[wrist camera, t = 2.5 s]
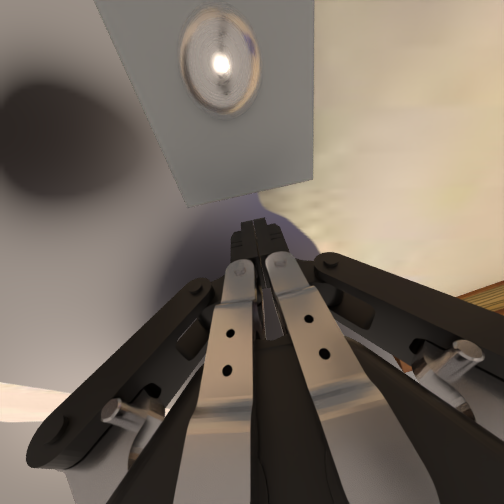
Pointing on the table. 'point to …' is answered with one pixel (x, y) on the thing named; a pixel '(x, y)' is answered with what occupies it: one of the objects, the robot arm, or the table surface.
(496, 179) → the table surface
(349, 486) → the robot arm
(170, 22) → the pocket slab
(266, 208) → the table surface
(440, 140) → the table surface
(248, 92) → the steel ball
